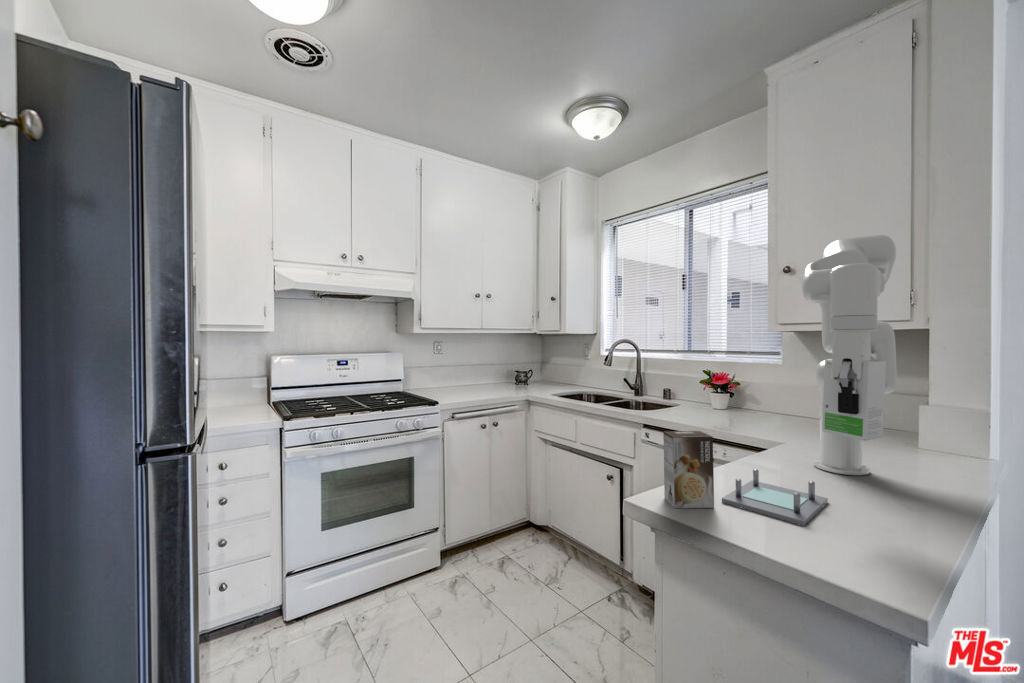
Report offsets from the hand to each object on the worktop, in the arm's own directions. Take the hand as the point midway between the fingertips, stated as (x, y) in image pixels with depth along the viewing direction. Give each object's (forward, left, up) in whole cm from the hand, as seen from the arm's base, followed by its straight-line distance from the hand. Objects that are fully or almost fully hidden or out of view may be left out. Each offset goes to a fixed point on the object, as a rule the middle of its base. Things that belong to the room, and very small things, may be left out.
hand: (852, 409), depth 86 cm
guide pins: (+2, -14, -23) cm, 27 cm away
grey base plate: (+2, -14, -23) cm, 27 cm away
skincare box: (0, 0, -5) cm, 5 cm away
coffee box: (+17, -27, -23) cm, 39 cm away
